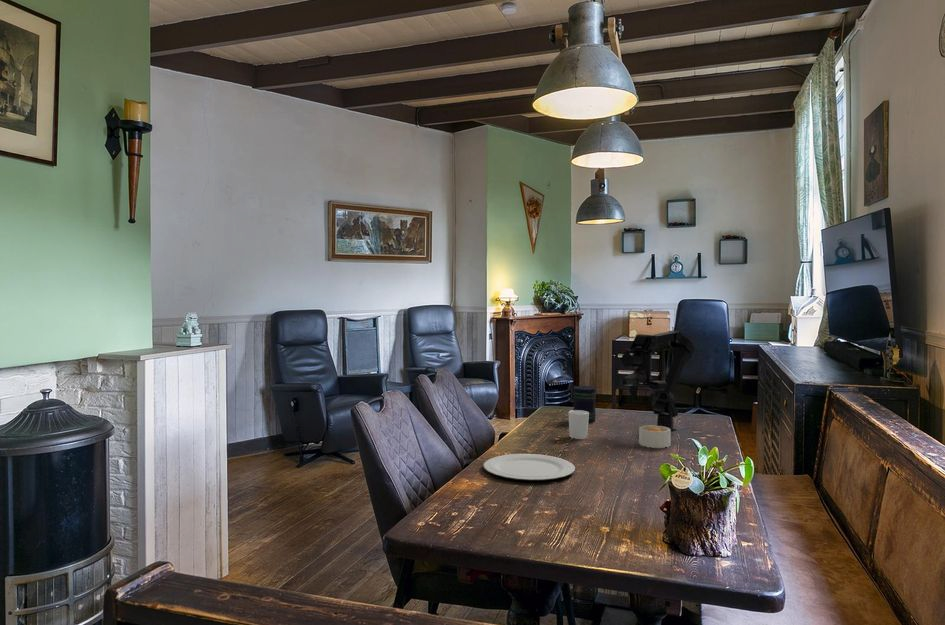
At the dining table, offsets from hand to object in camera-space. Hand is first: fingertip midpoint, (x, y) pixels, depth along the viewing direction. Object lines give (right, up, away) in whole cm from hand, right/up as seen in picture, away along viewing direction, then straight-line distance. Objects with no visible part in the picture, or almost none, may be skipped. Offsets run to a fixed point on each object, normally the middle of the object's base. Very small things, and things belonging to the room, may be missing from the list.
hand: (643, 404), depth 251 cm
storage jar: (-19, -11, +25) cm, 33 cm away
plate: (-51, -14, -52) cm, 74 cm away
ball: (0, -9, -17) cm, 19 cm away
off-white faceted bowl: (0, -13, -17) cm, 21 cm away
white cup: (-27, -12, -6) cm, 30 cm away
